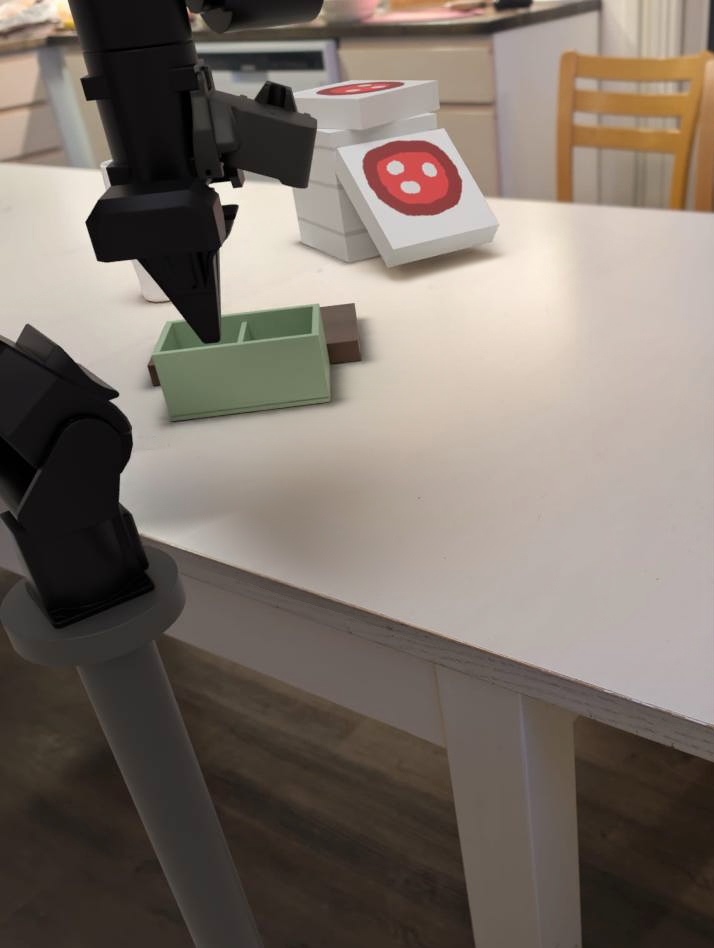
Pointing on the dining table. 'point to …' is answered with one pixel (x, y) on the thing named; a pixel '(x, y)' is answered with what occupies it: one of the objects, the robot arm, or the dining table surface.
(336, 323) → the bread board
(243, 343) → the cutlery holder
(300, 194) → the pizza boxes
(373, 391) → the dining table surface
